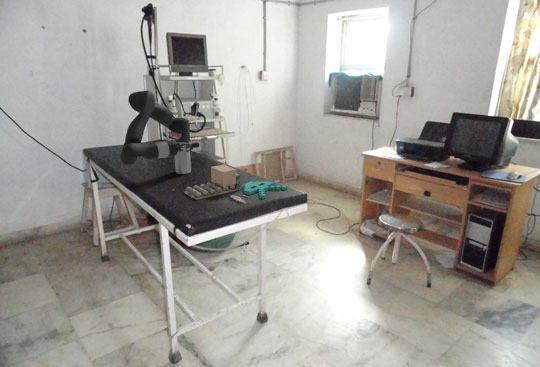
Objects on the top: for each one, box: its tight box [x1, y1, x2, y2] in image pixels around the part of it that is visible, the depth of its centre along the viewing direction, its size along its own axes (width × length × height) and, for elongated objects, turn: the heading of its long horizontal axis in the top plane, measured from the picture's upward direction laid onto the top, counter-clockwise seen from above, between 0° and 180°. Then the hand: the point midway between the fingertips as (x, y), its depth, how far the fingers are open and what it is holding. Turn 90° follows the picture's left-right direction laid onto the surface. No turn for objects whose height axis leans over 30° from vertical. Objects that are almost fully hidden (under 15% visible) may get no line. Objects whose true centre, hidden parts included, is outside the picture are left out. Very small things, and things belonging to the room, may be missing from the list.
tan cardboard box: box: [210, 164, 237, 187], centre depth 196 cm, size 12×8×8 cm, turn 39°
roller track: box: [183, 173, 243, 201], centre depth 193 cm, size 13×27×8 cm, turn 129°
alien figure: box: [242, 180, 288, 200], centre depth 198 cm, size 20×2×20 cm
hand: (198, 144), depth 182 cm, fingers closed
